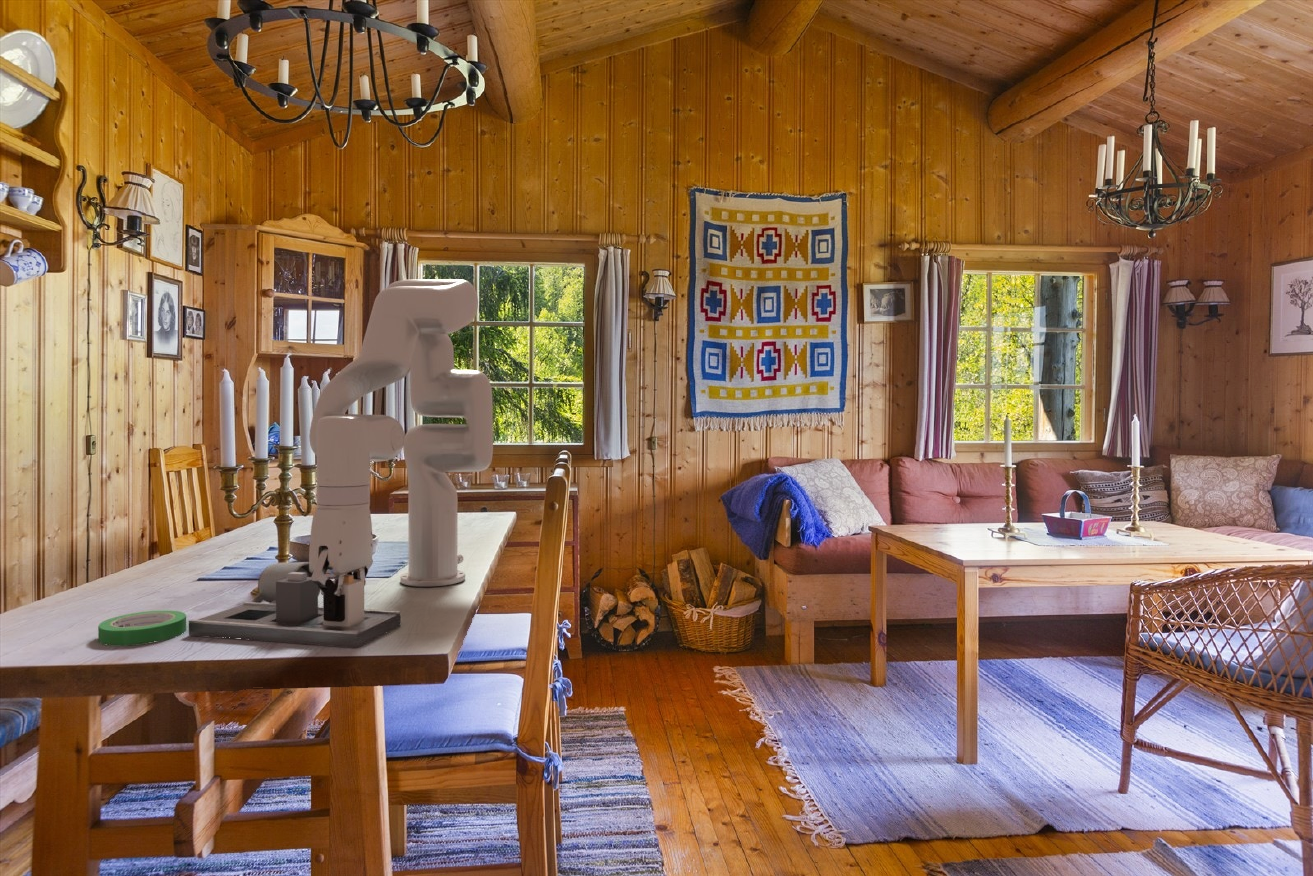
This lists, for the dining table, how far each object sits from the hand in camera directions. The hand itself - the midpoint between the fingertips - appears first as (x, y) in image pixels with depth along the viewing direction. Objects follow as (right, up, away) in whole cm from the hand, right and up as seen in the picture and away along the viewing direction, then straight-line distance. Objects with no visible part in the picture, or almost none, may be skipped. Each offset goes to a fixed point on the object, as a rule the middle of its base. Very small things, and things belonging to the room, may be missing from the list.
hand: (344, 615), depth 118 cm
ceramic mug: (-17, -3, +17) cm, 24 cm away
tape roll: (-30, -3, -1) cm, 30 cm away
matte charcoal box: (-8, -3, +2) cm, 9 cm away
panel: (-8, -3, +2) cm, 8 cm away
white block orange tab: (0, -3, 0) cm, 3 cm away
